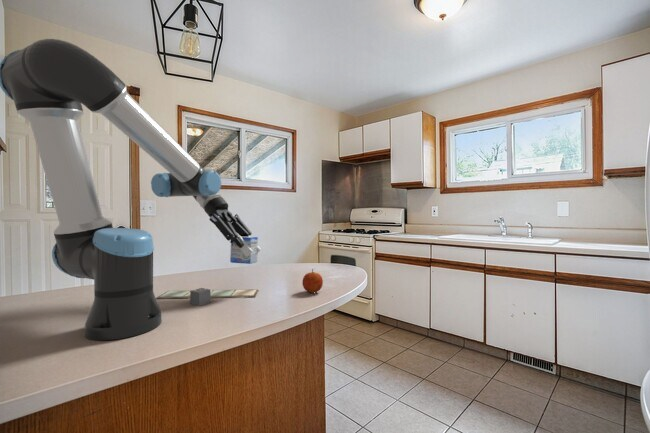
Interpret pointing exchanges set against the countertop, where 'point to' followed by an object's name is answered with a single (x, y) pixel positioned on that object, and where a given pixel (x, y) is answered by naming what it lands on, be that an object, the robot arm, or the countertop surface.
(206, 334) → the countertop surface
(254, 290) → the board
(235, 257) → the medicine box
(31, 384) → the countertop surface
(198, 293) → the grey toy brick
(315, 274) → the fruit
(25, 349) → the countertop surface
